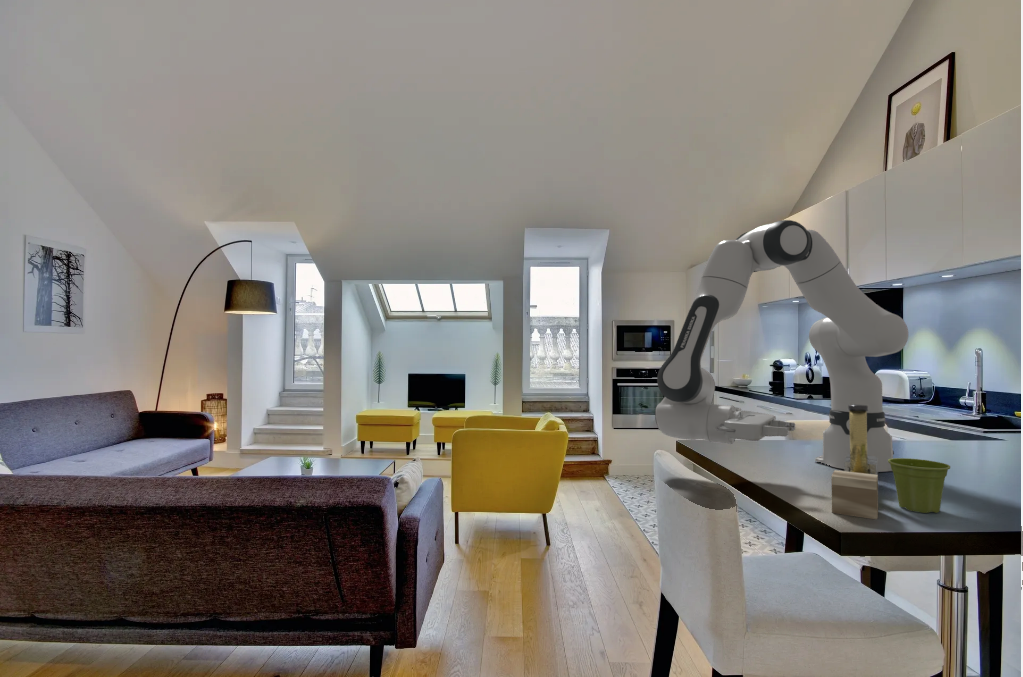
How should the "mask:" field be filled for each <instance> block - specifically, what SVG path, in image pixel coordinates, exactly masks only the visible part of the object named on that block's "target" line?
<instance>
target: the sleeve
mask: <svg viewBox="0 0 1023 677" xmlns="http://www.w3.org/2000/svg"><path fill="white" fill-rule="evenodd" d="M867 461H868V469H871V474H874V475H878V476H879V472H878V459H877V457H874V456H867ZM843 470H844V471H847V472H850V454H848V455H847V457H846V459H845V461H844V469H843Z"/></svg>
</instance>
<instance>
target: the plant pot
mask: <svg viewBox="0 0 1023 677" xmlns="http://www.w3.org/2000/svg"><path fill="white" fill-rule="evenodd" d="M888 462H889V463H890V465H891V469H892V471H891V472H892V473H893V474H892V475H893V478H894V482H895V489H896V496H897V501H898V505H899V507H900V508H904V509H906V510H907V511H910V512H916V513H921V514H929V513H935V514H936V513H937V514H938V513H939V512H940V510H941V504H942V500H943V499H942V498H943V492H944V485H945V479H946V477H947V475H948V471H949V470H950V469H951V465H949V464H947V463H943V462H939V461H935V460H934V461H933V460H928V459H922V458H921V459H920V458H909V457H905V458H904V457H896V458H894V457H893V459H888Z"/></svg>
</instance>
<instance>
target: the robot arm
mask: <svg viewBox="0 0 1023 677" xmlns="http://www.w3.org/2000/svg"><path fill="white" fill-rule="evenodd" d="M780 267H784V268H786V269H787V270H788V271H789V273H790V275H791V276H792V278H793V280H794V282H795V284H796V286H797V287H798V289H799V290H800V292H801V294H802V296H803V297H804V300H806V302H807V304H808V306H809V307H810V308H811V309H813V310H814V311H815V312H818V313H819V314H822V315H823V316H825V317H823V318H820V319H819V320H816V321H815V322H814V323H813V324H812V325H811V327H810V329H809V332H808V339H809V343H810V345H811V346H812V348H813V349H814V350H815V351H816V352H817V353H818V354H819V355H820V357H821V358H822V361H823V364H825V367H826V369H827V373H828V377H829V383H830V402H831V403H830V405H831V408H830V410H829V414H828V418H829V421H828V422H829V423H830V424H829V425H828V427H827V428H826V429H825V430H823V431H822V455H820V456H817V457H815V458H814V462H815V461H817V462H821V463H820V464H822V463H825V464H824V465H826V464H827V466H829V465H830V467H833V468H837V469H842V470H845V469H844V461H845V459H846V457H847V455H848V454H850V420H849V410H848V405H867V406H868V411H867V456H874V457H877V459H878V473H879V472H880V473H881V472H893V471H892V469H891V465H890V463H889V462H888V459H893V458H894V454H895V451H894V449H893V436H892V435H891V434H890V433H889V432H887V430H886V429H885V426H886V416H885V415H886V414H885V412H884V411H883V383H882V380H881V379H880V377H879V376H877V375H876V374H875V373H874V372H873V371H872V370H871V369H870V367H869V364H868V363H867V360H866V359H867V358H866V357H870V358H871V357H875V358H877V357H883V356H889V355H892V354H896V353H899V352H901V351H902V350H903V348H905V346H906V345H907V342H908V340H909V328H908V326H907V324H906V322H905V320H904V319H903V318H902V317H901V316H899V315H898V314H895V313H892V312H890V311H888V310H887V309H884V308H883V307H881V306H880V305H879V304H876V302H874V301H873V300H872V299H871V298H870V297H868V296H867V295H866V294H865V293H864V292H863V291H862V290H861V289H860V288H859V287H858V286H857V284H856V283H855V282H854V279H852V277H851V276H850V274H849V272H848V271H847V269H846V267H845V266H844V264H843V262H842V261H841V259H840V258H839V256H838V254H837V253H836V252H835V250H834V249H833V247H832V246H831V245H830V244H829V242H827V240H826V239H825V238H824V236H822V235H821V234H820V232H818V231H816V230H815V229H814V230H813V229H807V228H806V227H805V226H804V225H802V224H801V223H800V222H797V221H796V220H795V221H794V220H790V219H783V220H777V221H775V222H770V223H767V224H763V225H760V226H757V227H756V228H754V229H751V230H750V231H747V232H744V233H742V234H741V235H739V236H738V237H737V238H735V239H726V240H725V239H724V240H722V241H720V242H718V243H716V245H715V246H714V247H713V250H712V251H711V253H710V255H709V257H708V259H707V261H706V264H705V267H704V269H703V271H702V273H701V277H700V279H699V280H700V281H699V284H698V286H697V289H696V292H695V296H694V300H693V302H692V303H691V306H690V309H689V310H688V313H687V315H686V318H685V320H684V322H683V325H682V328H681V330H680V333H679V335H678V338H677V341H676V343H675V345H674V348H673V350H672V352H671V354H670V355H669V356H668V358H667V359H666V360H665V361H664V362H663V364H662V365H660V366H661V367H660V368H659V370H658V371H657V372H658V373H657V377H656V383H657V387H658V390H659V392H660V393H661V394H662V395H663V396H664V397H663V399H662V400H661V401H660V402H659V403H658V404H657V405H656V407H655V411H654V419H655V423H656V425H657V428H658V430H659V431H660V433H662V434H663V435H665V436H667V437H670V438H675V439H680V440H689V441H694V440H695V441H696V440H704V441H707V442H709V443H718V444H720V443H721V444H730V445H732V444H734V443H735V441H736V440H744V441H750V442H756V441H757V442H758V441H761V440H762V439H763V438H765V437H788V435H789V431H790V432H794V431H796V423H795V422H792V421H791V422H790V421H785V420H781V419H780V420H779V419H777V417H776V415H774V414H770V413H765V412H758V411H757V412H756V411H752V410H742V408H741V407H736V406H735V405H732V404H731V405H730V404H729V405H728V404H714V403H713V400H714V396H715V395H714V394H715V391H716V382H715V379H714V377H713V375H712V374H711V373H710V372H709V371H707V370H706V369H705V368H703V367H702V358H703V356H704V352H705V349H706V347H707V344H708V341H709V339H710V336H711V335H712V332H713V329H714V328H715V327H716V326H717V324H718V323H720V322H722V321H726V320H729V319H731V318H733V317H734V316H735V315H737V313H738V312H739V310H740V308H741V307H742V304H743V302H744V299H745V297H746V294H747V290H748V287H749V284H750V280H751V278H752V275H753V273H756V272H757V273H758V272H761V271H762V272H763V271H770V270H774V269H777V268H780ZM817 462H816V463H817Z"/></svg>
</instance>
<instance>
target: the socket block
mask: <svg viewBox="0 0 1023 677" xmlns="http://www.w3.org/2000/svg"><path fill="white" fill-rule="evenodd" d="M830 478H831V513H832V514H839V515H844V516H850V517H858V518H865V519H871V520H878V515H879V482H878V481H879V474H878V475H874V474H865V473H856V472H847V471H845V470H835V469H834V471H833V473H832V474H831V477H830Z"/></svg>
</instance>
